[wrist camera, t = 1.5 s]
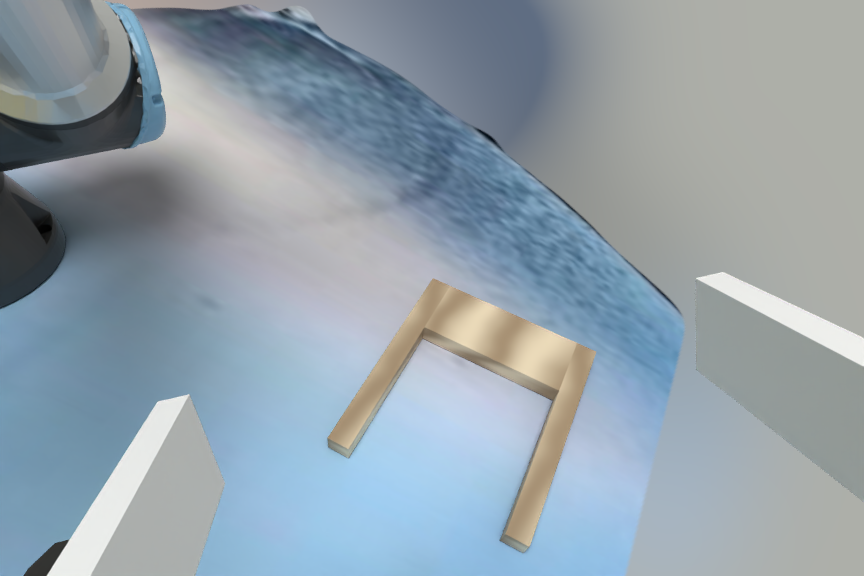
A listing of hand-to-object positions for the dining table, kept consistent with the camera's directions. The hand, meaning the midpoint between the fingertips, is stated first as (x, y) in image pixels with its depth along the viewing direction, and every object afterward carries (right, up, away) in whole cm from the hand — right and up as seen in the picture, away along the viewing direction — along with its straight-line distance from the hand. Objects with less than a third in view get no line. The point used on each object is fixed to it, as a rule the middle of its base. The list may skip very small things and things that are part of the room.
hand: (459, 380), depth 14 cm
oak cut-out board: (+3, -8, +36) cm, 37 cm away
